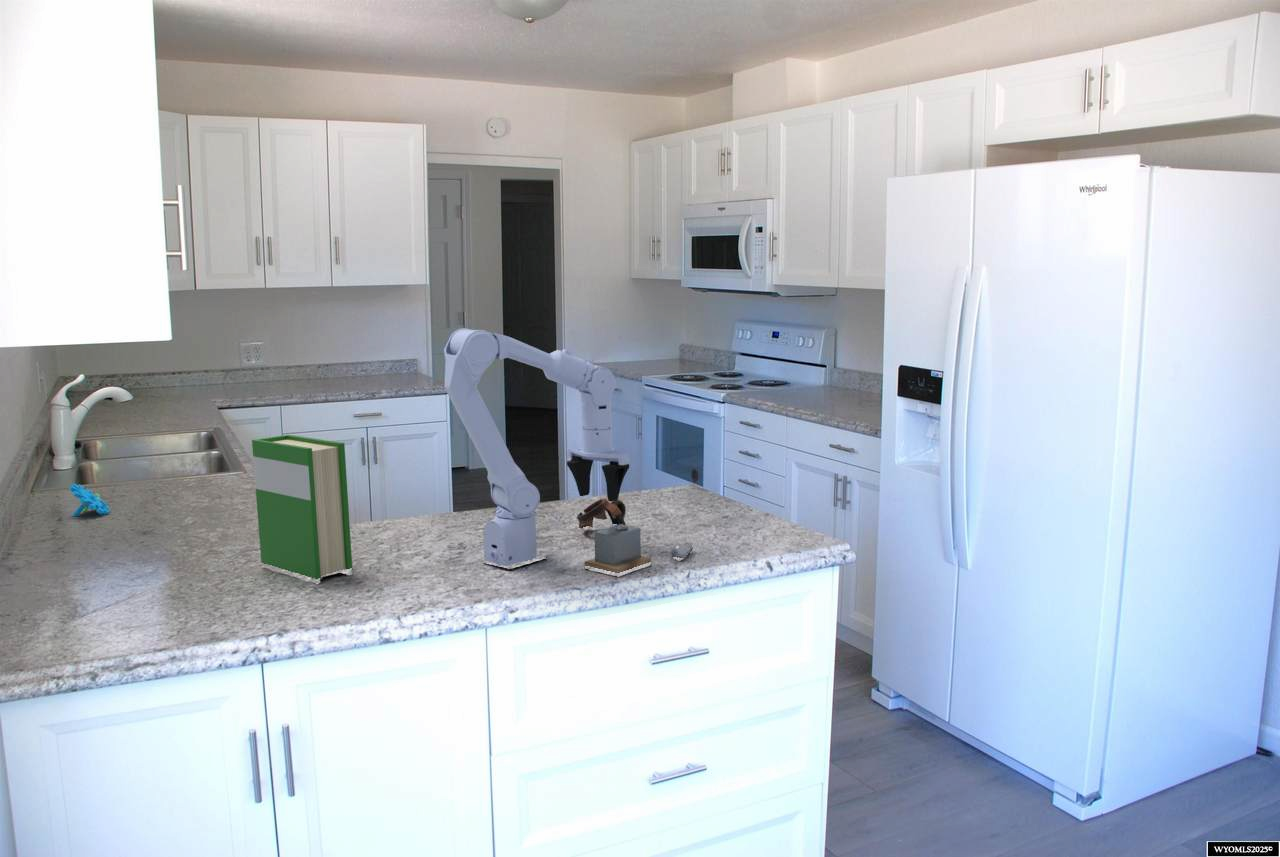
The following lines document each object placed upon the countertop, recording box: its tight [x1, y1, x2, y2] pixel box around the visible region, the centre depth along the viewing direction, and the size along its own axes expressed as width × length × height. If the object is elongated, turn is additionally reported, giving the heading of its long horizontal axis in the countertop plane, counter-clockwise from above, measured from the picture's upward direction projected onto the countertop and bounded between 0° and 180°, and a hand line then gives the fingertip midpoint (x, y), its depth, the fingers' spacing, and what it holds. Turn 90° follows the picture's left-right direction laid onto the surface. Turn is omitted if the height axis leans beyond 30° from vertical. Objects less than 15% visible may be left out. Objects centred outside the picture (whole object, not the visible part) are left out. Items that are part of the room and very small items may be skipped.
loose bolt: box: [670, 543, 694, 559], centre depth 187 cm, size 6×3×3 cm, turn 159°
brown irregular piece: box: [576, 498, 627, 530], centre depth 207 cm, size 12×10×8 cm
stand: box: [584, 555, 652, 573], centre depth 181 cm, size 9×8×2 cm
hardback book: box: [251, 434, 353, 579], centre depth 182 cm, size 18×7×24 cm, turn 51°
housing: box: [593, 524, 642, 566], centre depth 181 cm, size 7×5×6 cm
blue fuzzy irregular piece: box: [69, 483, 111, 517], centre depth 232 cm, size 11×6×10 cm
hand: (598, 497), depth 194 cm, fingers open, 7 cm apart
